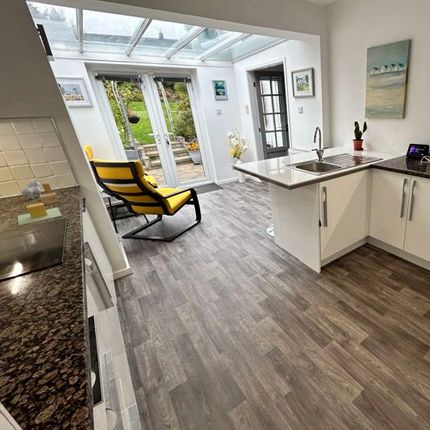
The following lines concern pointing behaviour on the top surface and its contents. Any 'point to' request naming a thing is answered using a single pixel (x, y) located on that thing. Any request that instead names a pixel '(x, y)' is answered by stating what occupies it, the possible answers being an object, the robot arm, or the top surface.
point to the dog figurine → (31, 190)
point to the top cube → (37, 210)
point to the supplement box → (47, 188)
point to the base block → (49, 198)
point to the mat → (28, 219)
